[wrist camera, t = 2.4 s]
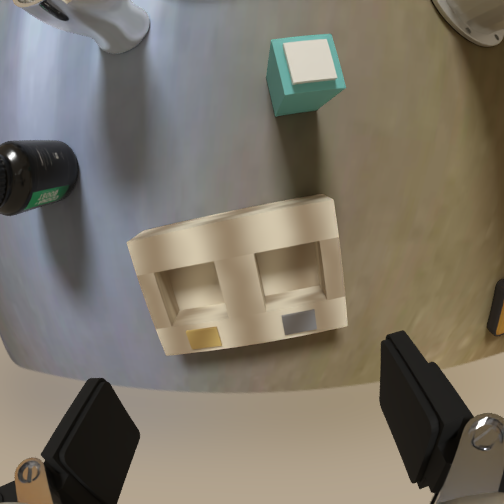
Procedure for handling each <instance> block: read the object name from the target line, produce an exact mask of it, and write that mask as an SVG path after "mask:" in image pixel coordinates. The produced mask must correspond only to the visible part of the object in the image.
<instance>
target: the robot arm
mask: <svg viewBox="0 0 504 504" xmlns="http://www.w3.org/2000/svg"><path fill="white" fill-rule="evenodd" d="M432 1H433V3H434V5H435V6H436V8H437V9H438V11H439V12H440V14H441V15H442V16H443V17H444V18H445V20H446V21H447V22H448V23H449V24H450V25H451V26H452V27H453V28H454V29H455V30H456V31H457V32H458V33H460V34H461V35H462V36H463V37H465V38H466V39H468V40H469V41H471V42H473V43H475V44H477V45H480V46H484V47H491V46H494V45H497V44H499V43H500V42H501V41H502V39H503V37H504V0H432ZM379 399H380V406H381V409H382V411H383V413H384V416H385V418H386V421H387V423H388V425H389V428H390V430H391V433H392V435H393V438H394V440H395V442H396V445H397V447H398V450H399V452H400V455H401V457H402V460H403V462H404V465H405V468H406V470H407V473H408V476H409V478H410V480H411V482H412V483H416V482H417V484H418V486H419V489H422V488H424V487H427V486H429V488H430V490H431V492H433V493H434V495H433V497H432V499H431V501H430V504H504V418H502V417H501V416H499V415H496V414H492V413H484V414H480V415H477V416H475V417H474V416H473V415H472V413H471V412H470V410H469V409H468V408H467V406H466V405H465V403H464V402H463V400H462V399H461V397H460V396H459V395H458V393H457V392H456V390H455V389H454V388H453V386H452V385H451V383H450V382H449V380H448V379H447V378H446V376H445V375H444V374H443V372H442V371H441V369H440V368H439V367H438V365H437V364H436V363H434V362H430V363H428V362H427V361H426V360H425V358H424V357H423V355H422V354H421V353H420V351H419V350H418V349H417V347H416V346H415V344H414V343H413V342H412V340H411V339H410V338H409V336H408V335H407V334H406V332H405V331H403V330H402V331H399V332H395V333H392V334H388V335H387V336H386V340H383V341H382V342H381V373H380V397H379ZM139 439H140V433H139V430H138V429H137V427H136V425H135V424H134V422H133V421H132V419H131V418H130V416H129V415H128V413H127V411H126V410H125V408H124V407H123V405H122V403H121V401H120V400H119V398H118V396H117V395H116V393H115V391H114V390H113V388H112V386H111V384H110V383H109V382H107V381H106V380H105V379H104V378H90V379H88V380H87V381H86V383H85V385H84V386H83V388H82V389H81V391H80V392H79V394H78V395H77V397H76V398H75V400H74V401H73V403H72V405H71V406H70V408H69V409H68V411H67V412H66V414H65V415H64V417H63V419H62V420H61V422H60V423H59V425H58V427H57V428H56V430H55V432H54V433H53V435H52V437H51V438H50V440H49V442H48V443H47V445H46V447H45V448H44V450H43V452H42V453H41V456H42V457H43V458H44V459H45V462H44V463H43V462H42V461H41V460H40V459H38V458H28V459H26V460H24V461H22V462H21V463H20V464H19V465H18V467H17V468H16V471H15V481H13V482H10V483H8V484H6V485H3V486H1V487H0V504H117V502H118V499H119V496H120V493H121V490H122V487H123V484H124V481H125V478H126V475H127V473H128V470H129V467H130V464H131V461H132V459H133V456H134V453H135V450H136V448H137V445H138V442H139Z"/></svg>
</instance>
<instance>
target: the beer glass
mask: <svg viewBox="0 0 504 504" xmlns="http://www.w3.org/2000/svg"><path fill="white" fill-rule="evenodd" d="M13 2H14V4H15V5H16V6H18V7H20V8H22V9H23V10H25V11H26V12H28V13H29V14H31V15H32V16H34V17H35V18H37V19H39V20H40V21H42V22H44V23H45V24H48V25H50V26H52V27H54V28H56V29H60V30H63V31H66V32H70V33H74V34H78V35H82V36H86V37H89V38H92V39H93V40H94V41H95V42H96V43H97V44H98V46H99V47H100V48H101V49H102V50H103V51H105V52H107V53H110V54H120V53H124V52H127V51H129V50H131V49H132V48H134V47H135V46H137V45H138V44H139V43H140V42H141V41H142V40H143V38H144V37H145V35H146V34H147V32H148V29H149V24H150V20H149V16H148V14H147V12H146V11H145V10H144V9H142V8H141V7H139V6H137V5H135V4H134V3H133V2H132V1H131V0H13Z"/></svg>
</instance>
